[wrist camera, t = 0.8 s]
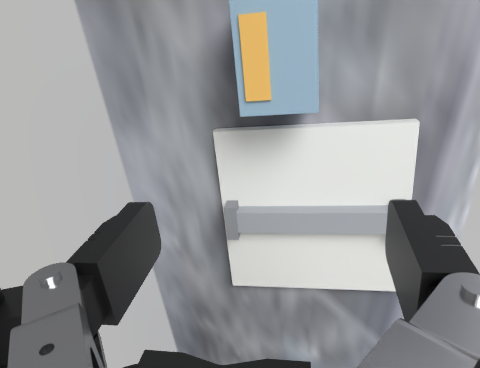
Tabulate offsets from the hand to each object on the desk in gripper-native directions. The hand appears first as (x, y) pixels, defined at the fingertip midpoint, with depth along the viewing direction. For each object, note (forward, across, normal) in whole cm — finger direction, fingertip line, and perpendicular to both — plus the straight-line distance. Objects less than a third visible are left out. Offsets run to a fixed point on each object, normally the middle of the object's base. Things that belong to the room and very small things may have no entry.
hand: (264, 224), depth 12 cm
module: (+19, 0, -4) cm, 19 cm away
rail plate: (+19, -2, +10) cm, 21 cm away
